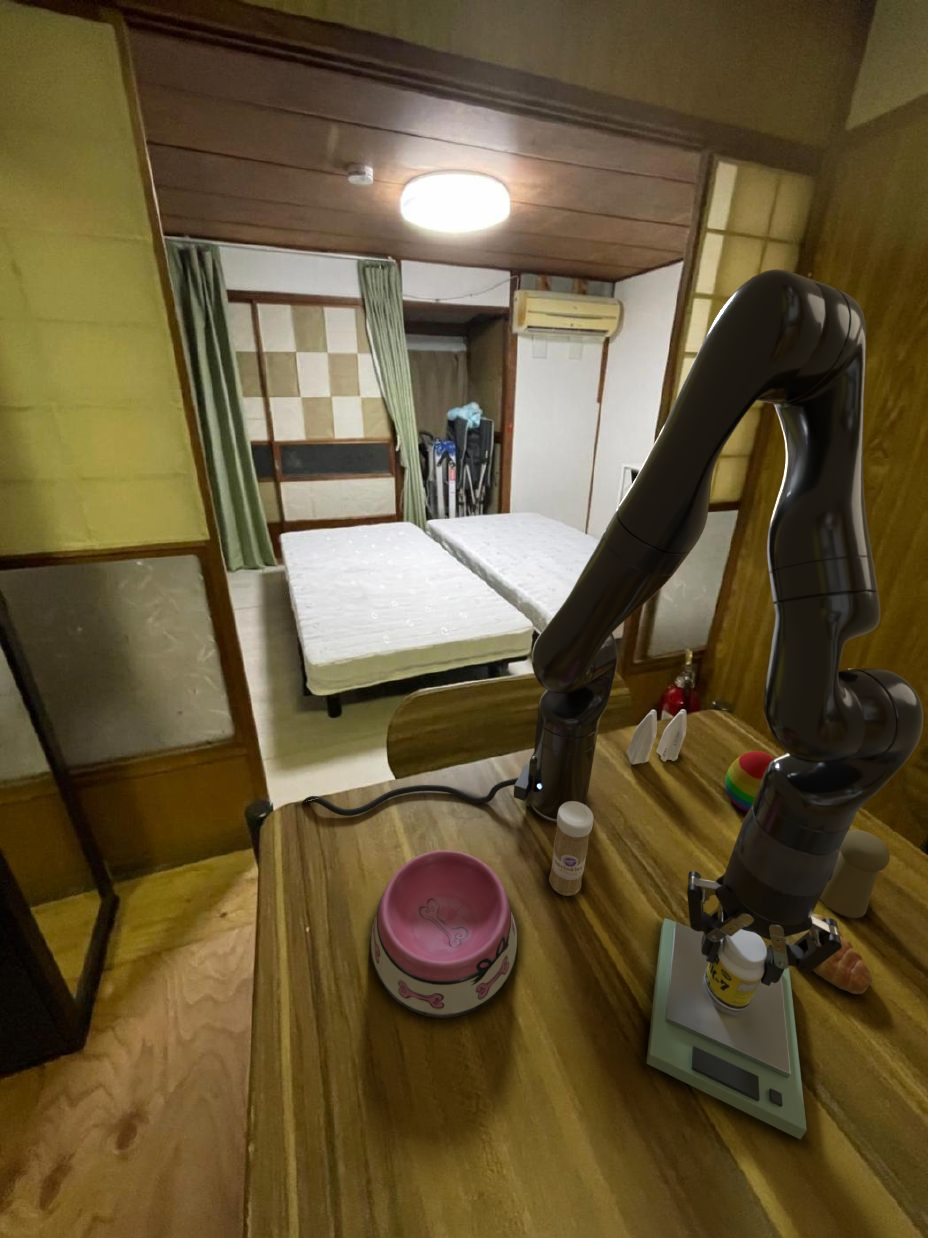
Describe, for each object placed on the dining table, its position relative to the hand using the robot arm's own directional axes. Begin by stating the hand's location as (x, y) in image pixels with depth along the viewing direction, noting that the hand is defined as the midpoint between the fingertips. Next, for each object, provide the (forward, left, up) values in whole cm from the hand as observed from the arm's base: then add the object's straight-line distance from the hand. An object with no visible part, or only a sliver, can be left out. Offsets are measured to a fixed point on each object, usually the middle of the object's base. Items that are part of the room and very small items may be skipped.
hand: (736, 965), depth 55 cm
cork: (+15, +21, -7) cm, 27 cm away
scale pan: (0, 0, -5) cm, 5 cm away
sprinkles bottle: (-20, +7, -7) cm, 23 cm away
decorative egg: (+4, +35, -7) cm, 36 cm away
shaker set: (-12, +39, -7) cm, 42 cm away
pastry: (+11, +11, -7) cm, 18 cm away
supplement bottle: (0, 0, -5) cm, 5 cm away
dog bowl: (-32, -7, -7) cm, 34 cm away
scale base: (0, -2, -7) cm, 7 cm away
